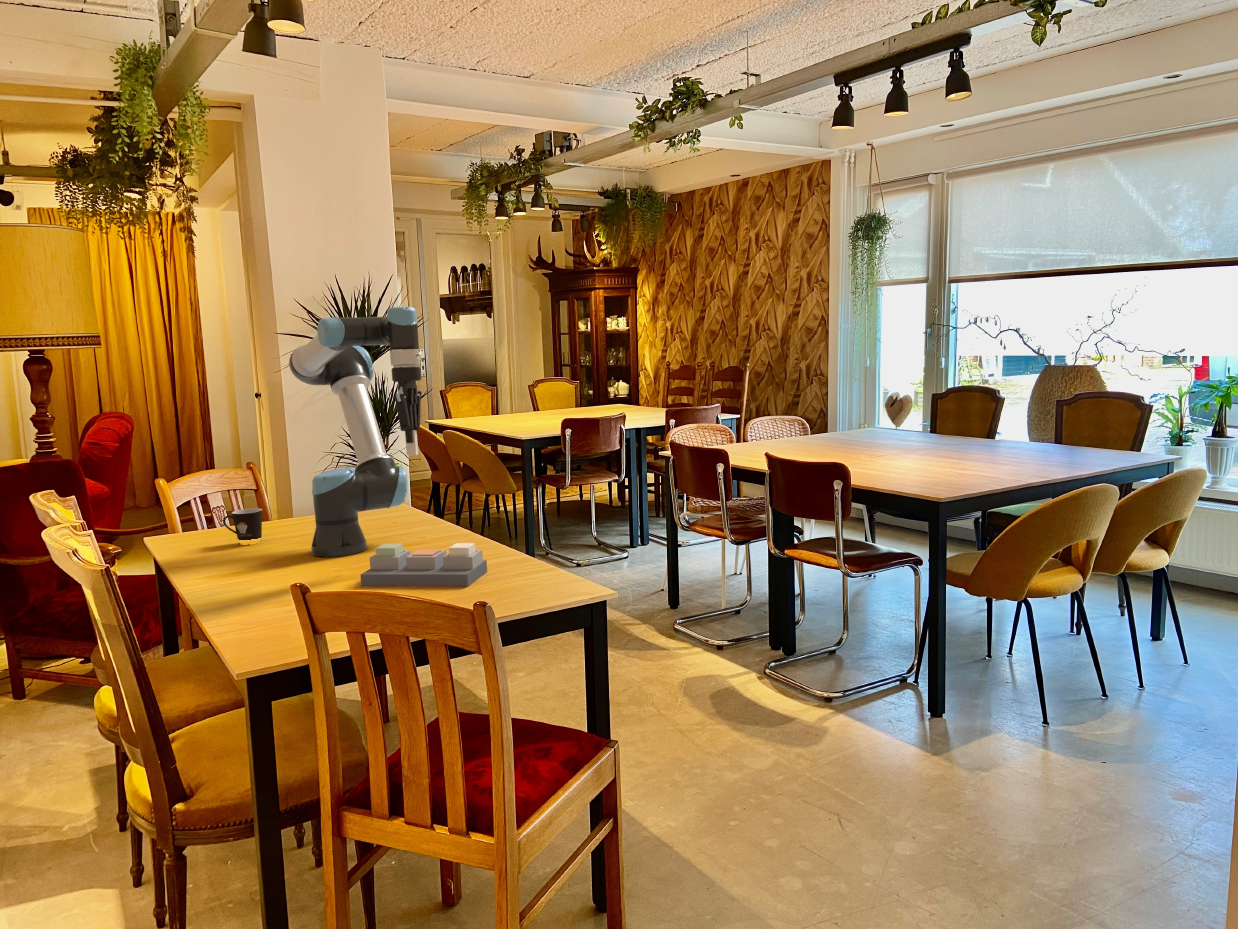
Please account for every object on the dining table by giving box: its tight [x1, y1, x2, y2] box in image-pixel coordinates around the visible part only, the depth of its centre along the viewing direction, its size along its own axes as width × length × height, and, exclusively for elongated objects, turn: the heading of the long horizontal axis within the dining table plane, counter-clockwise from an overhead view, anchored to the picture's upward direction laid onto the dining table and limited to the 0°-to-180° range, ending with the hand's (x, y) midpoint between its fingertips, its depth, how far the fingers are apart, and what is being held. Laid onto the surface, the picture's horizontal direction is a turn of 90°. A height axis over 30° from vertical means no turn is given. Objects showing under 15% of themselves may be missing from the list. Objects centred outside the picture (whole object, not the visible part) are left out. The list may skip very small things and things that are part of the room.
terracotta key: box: [412, 549, 441, 556], centre depth 219 cm, size 5×5×3 cm
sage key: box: [375, 543, 405, 557], centre depth 220 cm, size 5×5×3 cm
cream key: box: [448, 542, 477, 556], centre depth 217 cm, size 5×5×3 cm
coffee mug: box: [222, 508, 263, 540], centre depth 272 cm, size 12×9×10 cm
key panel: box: [359, 549, 488, 588], centre depth 217 cm, size 27×14×6 cm, turn 80°
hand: (412, 454), depth 237 cm, fingers closed
